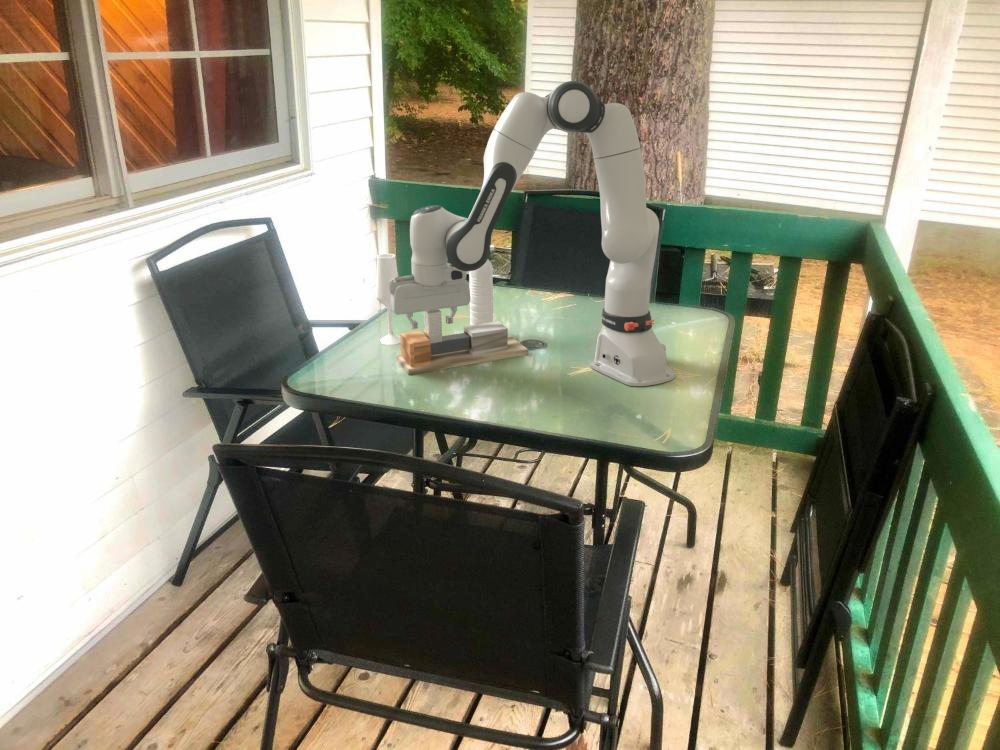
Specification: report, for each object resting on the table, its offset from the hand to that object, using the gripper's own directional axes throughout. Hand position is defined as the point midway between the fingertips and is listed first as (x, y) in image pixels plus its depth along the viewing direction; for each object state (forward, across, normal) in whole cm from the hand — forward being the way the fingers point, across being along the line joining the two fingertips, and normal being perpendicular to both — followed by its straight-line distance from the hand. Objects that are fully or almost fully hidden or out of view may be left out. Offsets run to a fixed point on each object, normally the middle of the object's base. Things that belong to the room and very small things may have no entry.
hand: (431, 325), depth 195 cm
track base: (+10, +8, 0) cm, 13 cm away
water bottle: (+10, +20, +13) cm, 26 cm away
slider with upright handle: (+7, +6, 0) cm, 9 cm away
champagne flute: (+10, -5, +20) cm, 23 cm away
